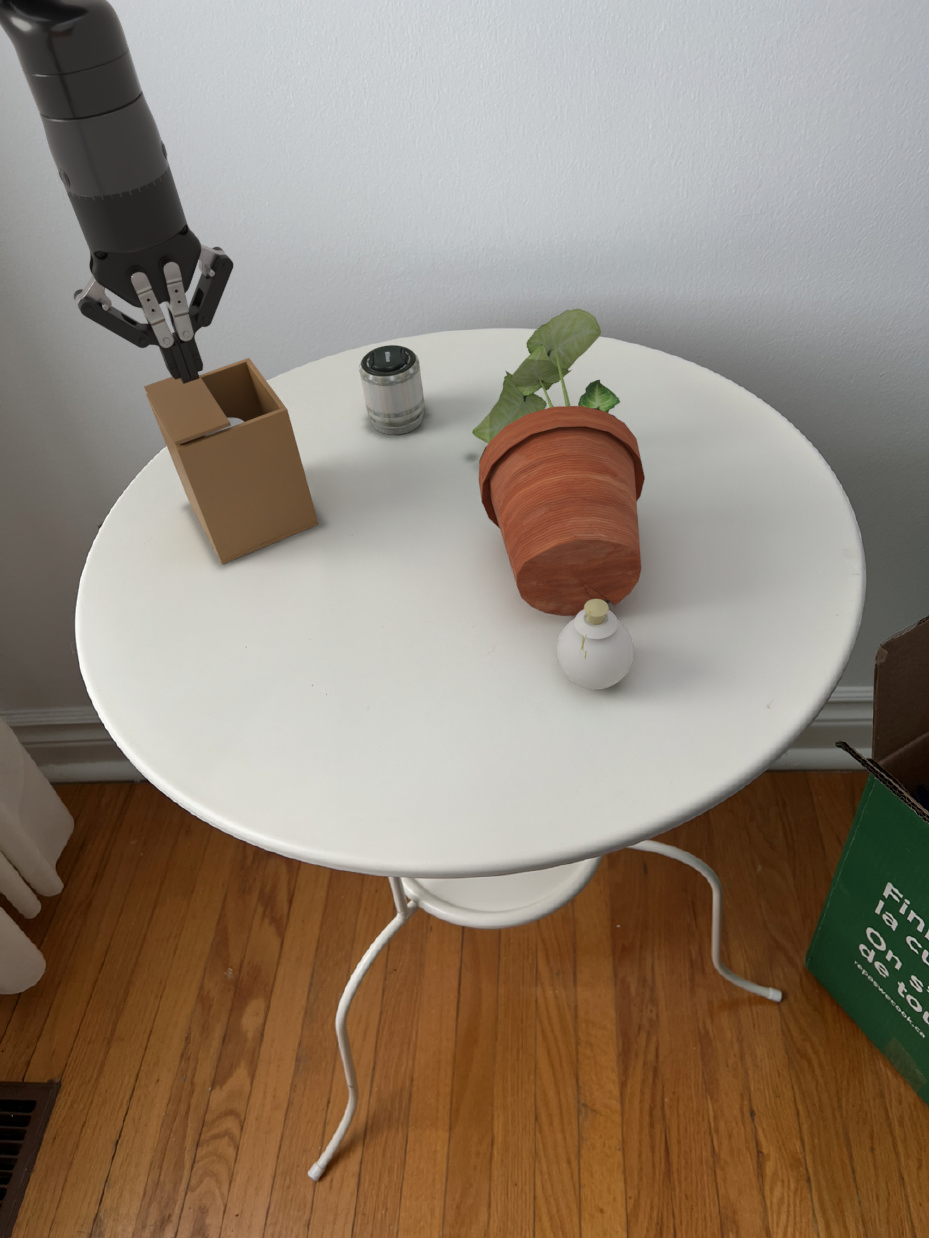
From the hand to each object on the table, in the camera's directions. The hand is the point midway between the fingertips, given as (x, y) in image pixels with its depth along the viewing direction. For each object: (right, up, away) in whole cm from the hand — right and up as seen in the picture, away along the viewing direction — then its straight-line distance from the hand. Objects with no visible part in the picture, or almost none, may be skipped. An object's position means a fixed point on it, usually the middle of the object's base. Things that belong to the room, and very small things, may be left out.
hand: (188, 377), depth 79 cm
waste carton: (+3, -10, +13) cm, 17 cm away
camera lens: (+16, +1, +22) cm, 27 cm away
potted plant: (+32, -9, +11) cm, 35 cm away
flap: (-1, -2, +2) cm, 3 cm away
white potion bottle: (+34, -26, -5) cm, 43 cm away
